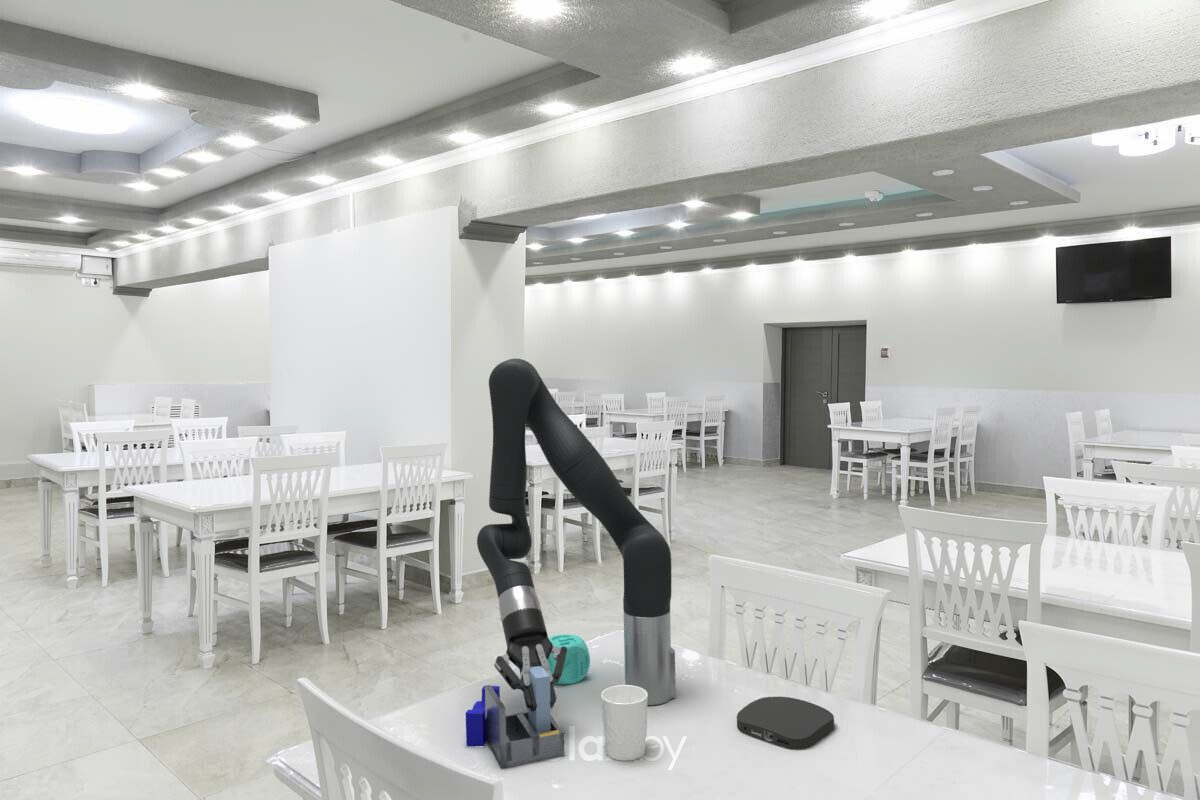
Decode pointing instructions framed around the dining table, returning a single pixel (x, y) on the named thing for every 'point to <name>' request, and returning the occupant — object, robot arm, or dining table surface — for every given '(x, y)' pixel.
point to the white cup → (624, 721)
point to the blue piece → (478, 721)
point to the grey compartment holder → (518, 735)
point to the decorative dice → (571, 658)
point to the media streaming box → (785, 722)
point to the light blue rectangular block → (540, 700)
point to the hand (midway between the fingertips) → (542, 707)
